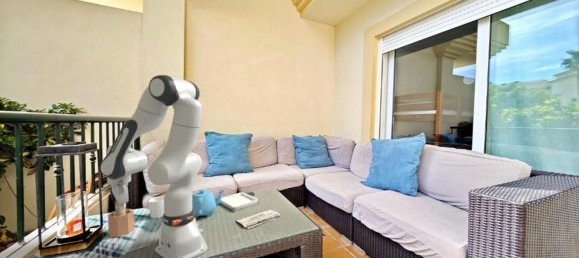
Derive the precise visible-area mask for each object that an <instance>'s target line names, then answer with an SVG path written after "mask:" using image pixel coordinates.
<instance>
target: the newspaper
mask: <svg viewBox="0 0 579 258" xmlns="http://www.w3.org/2000/svg"><path fill="white" fill-rule="evenodd" d="M278 217H281V214H280V213H279V212H278V211H275V210H273V209H268V210H265V211H262V212H258V213H256V214H252V215H250V216H247V217H244V218H239V219H237V220H236V222H238V223H239V224H241V225H242V226H243V229H248V230H249V229H252V228H254V227H256V226H258V225H261V224H265V223H267V222H270V221H274V220H276V219H277V218H278Z"/></svg>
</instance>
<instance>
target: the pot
mask: <svg viewBox="0 0 579 258" xmlns="http://www.w3.org/2000/svg"><path fill="white" fill-rule="evenodd" d="M134 215H135V212H134V210H133V209H132V208H126V215H122V216H118V217H116V214H115V210H114V211H112V212H111V213H109V214H107V224H108V225H107V227H108V229H107V230H108V236H109V237H110V238H120V237H122V236H126V235H129V234H130V233H132V232H134V231H135V221H134V220H135V217H134Z"/></svg>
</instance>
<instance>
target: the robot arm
mask: <svg viewBox="0 0 579 258" xmlns="http://www.w3.org/2000/svg"><path fill="white" fill-rule="evenodd" d="M200 93H201V92H200V88H199V87H198V85H197V84H195V83H194V82H193V81H190V80H186V79H183V78H181V77H178V76H177V77H176V76H171V75H170V76H169V75H167V74H160V75H159V74H158V75H155V76H153V77H152V78H151V79H150V80H149V82H148V86H147V87H146V88H145V89H144V91H143V93H142V94H141V96H140V98H139V100H138V104H137V106H136V109H135V111H134V113H133V114H132V115H131V117H130V118H129V119H128V120H126V121H125V122H124V123H123V125H122V126H121V128H120V130H119V132H118V134H117V136H116V138H115V139H114V142H113V143H112V145H110V146H108V147H107V151H106V155H105V157H104V158H103V159H102V161H101V163H100V166H99V170H100V173H101V174H102V176H104V177H105V178H106V181H107V185H108V186H109V185H110V187H111V192H112V194H113V197H114V198H115V201H116V200H117V202H118V204H119V210H123V209H124V203H126V204H127V203H128V202H129V189H128V185H129V183H130V182H131V181H132V175H133V174H137V173H139V172H142V171H144V170H147V177H148V179H149V181H150V182H151V183H152V184H154V185H155V186H164V185H169V187H168V188H167V190H166V191H165V193H164V195H163V197H164V213H163V216H162V223H163V224H162V226H161V227H160V229H159V232H158V233H159V236H158V237H159V238H158V245H157V246H156V247H155V248H154V252H155V253H156V254H158V255H159V256H161V257H162V258H197V257H199V256H201V255H203V254H204V253H206V252H207V251H208V248H209V247H208V246H207V242H206V241H205V239H204V237H203V234H204V229H203V228H199V227H200V223H199V222H197V220H196V218H195V217H194V210H193V208H192V195H193V191H194V186H195V183H196V178H197V175H198V173H199V171H200V170H201V168H202V166H203V161H202V157H201V156H200V155H199V153H195V152H191V151H192V150H193V148H195V147H196V146H197V143H198V140H199V135H200V130H201V126H202V119H203V104H202V103H201V102H200V101H199V100H198V99H199V98H200V96H201V95H200ZM169 107H172V108H173V109H172V110H173V116H172V120H171V126H170V131H169V133H168V139H167V140H166V143H165V145H164V147H163V149H162V150H161V152H160V154H159V155H158V156H157V157H156V159H155V160H154V161H152V162H151V163H150V160H149V159H150V158H149V157H148V155H147V153H145V152H144V151H139V150H137V149H134V148H133V147H132V145H133V143H134V141H135V140H136V139H137V138H139V137H141V136H142V135H145V134H146V133H149V132H151V131H154V130H156V129H158V128H159V127H160V126H161V125H162V123H163V122H164V120H165V117H166V114H167V111H168V108H169ZM149 163H150V165H149Z"/></svg>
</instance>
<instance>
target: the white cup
mask: <svg viewBox="0 0 579 258" xmlns="http://www.w3.org/2000/svg"><path fill="white" fill-rule="evenodd" d="M148 209H149V216H150V217H149V218H151V219H158V218H163V213H164V196H157V197H153V198H150V199H149V200H148Z"/></svg>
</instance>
